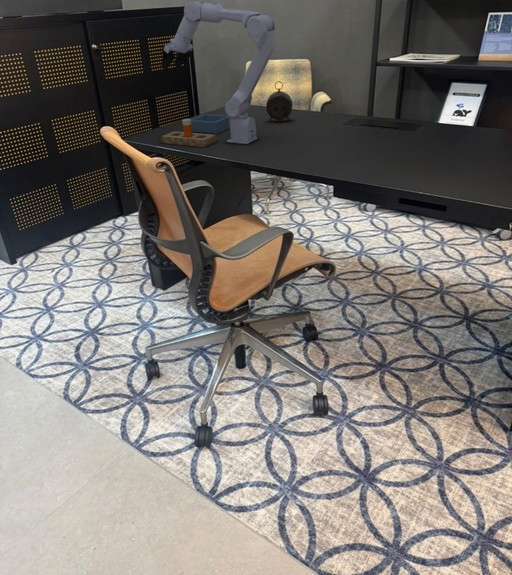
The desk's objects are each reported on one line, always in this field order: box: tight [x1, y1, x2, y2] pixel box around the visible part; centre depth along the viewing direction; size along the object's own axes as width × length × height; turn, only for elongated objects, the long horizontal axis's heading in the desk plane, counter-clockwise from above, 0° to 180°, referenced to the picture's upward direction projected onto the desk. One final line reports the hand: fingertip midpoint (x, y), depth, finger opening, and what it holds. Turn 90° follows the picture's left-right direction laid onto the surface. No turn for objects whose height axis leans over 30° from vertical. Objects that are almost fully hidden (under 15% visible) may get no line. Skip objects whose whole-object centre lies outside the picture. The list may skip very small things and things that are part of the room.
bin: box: [190, 113, 230, 135], centre depth 209 cm, size 14×12×5 cm
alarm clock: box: [265, 81, 293, 123], centre depth 211 cm, size 11×5×16 cm, turn 84°
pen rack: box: [161, 130, 217, 148], centre depth 194 cm, size 20×8×3 cm, turn 60°
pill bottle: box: [181, 118, 193, 137], centre depth 192 cm, size 3×3×8 cm
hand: (170, 67), depth 189 cm, fingers open, 7 cm apart
